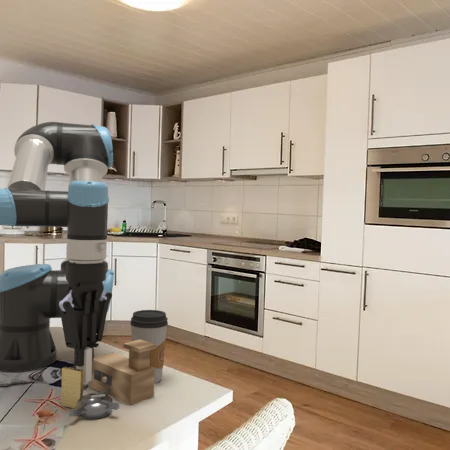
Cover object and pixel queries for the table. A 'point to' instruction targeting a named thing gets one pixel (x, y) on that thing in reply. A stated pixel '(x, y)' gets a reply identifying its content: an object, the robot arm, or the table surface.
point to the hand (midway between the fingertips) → (83, 380)
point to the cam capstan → (84, 397)
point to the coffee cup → (151, 335)
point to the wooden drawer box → (126, 373)
